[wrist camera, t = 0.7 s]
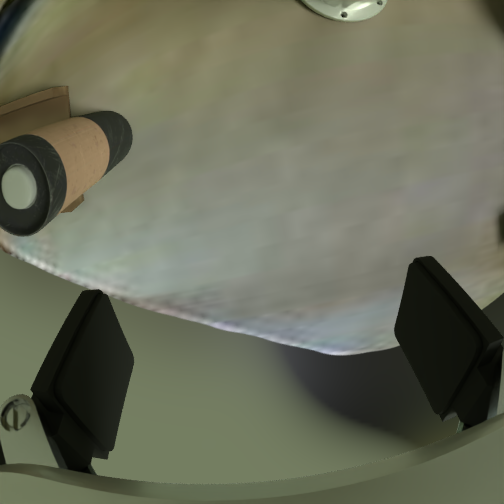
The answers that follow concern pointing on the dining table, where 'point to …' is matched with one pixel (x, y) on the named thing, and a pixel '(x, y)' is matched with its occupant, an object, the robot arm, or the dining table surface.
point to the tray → (36, 117)
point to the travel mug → (57, 167)
